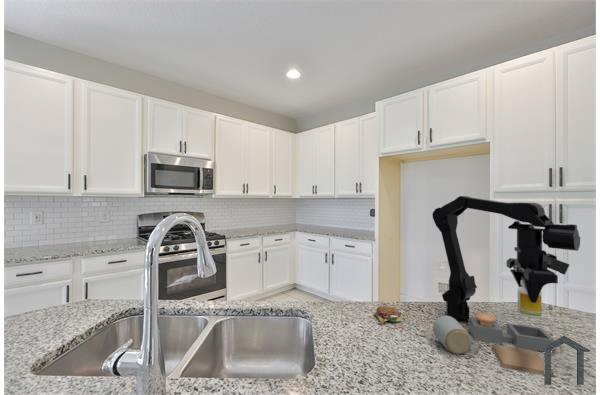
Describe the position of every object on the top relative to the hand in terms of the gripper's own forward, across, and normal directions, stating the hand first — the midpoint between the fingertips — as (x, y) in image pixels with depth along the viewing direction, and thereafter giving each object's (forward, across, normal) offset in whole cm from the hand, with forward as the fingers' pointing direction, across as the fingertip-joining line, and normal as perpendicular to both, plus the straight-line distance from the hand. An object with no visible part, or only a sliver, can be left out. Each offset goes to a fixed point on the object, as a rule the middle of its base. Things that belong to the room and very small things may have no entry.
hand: (529, 299), depth 81 cm
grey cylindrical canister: (+13, -10, +20) cm, 26 cm away
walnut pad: (+13, -12, +6) cm, 19 cm away
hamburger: (+14, +1, +40) cm, 42 cm away
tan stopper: (+12, 0, +11) cm, 16 cm away
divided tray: (+13, 0, +5) cm, 14 cm away
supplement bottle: (+5, 0, 0) cm, 5 cm away
